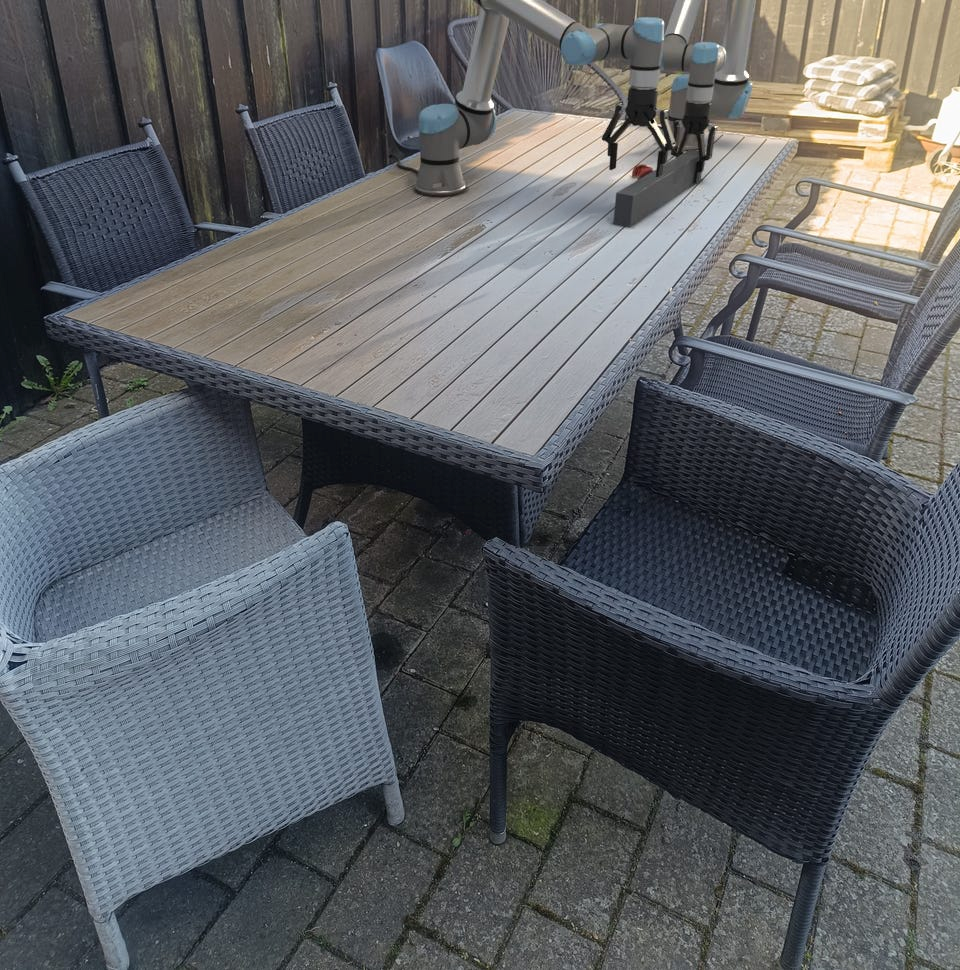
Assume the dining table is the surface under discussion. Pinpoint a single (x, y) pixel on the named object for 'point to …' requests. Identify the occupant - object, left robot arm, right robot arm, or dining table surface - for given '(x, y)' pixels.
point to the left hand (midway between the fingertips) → (635, 172)
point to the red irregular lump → (641, 170)
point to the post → (655, 189)
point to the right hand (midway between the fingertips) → (687, 180)
